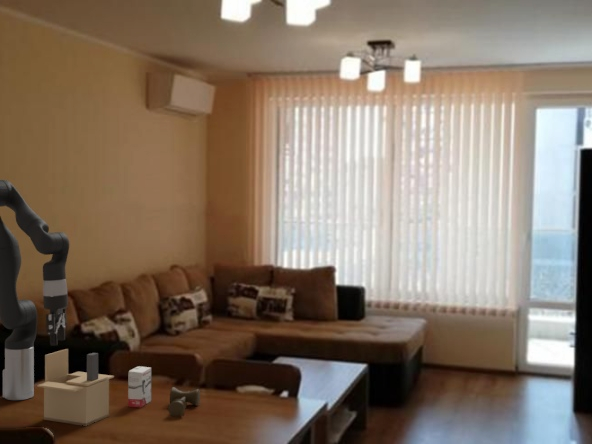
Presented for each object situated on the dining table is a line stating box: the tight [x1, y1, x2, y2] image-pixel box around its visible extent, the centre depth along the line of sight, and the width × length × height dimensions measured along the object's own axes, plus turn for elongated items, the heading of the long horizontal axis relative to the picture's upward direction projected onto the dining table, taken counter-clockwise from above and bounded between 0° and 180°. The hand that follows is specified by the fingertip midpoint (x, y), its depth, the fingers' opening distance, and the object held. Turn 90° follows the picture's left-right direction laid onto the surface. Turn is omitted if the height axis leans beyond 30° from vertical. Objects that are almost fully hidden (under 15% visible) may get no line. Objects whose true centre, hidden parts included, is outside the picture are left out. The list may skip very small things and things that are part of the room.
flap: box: [66, 352, 108, 386], centre depth 225 cm, size 8×10×9 cm
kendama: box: [167, 386, 201, 418], centre depth 239 cm, size 6×10×20 cm
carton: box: [36, 348, 115, 427], centre depth 227 cm, size 16×19×20 cm
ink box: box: [127, 365, 152, 408], centre depth 243 cm, size 9×5×12 cm, turn 168°
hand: (57, 342), depth 239 cm, fingers open, 8 cm apart
